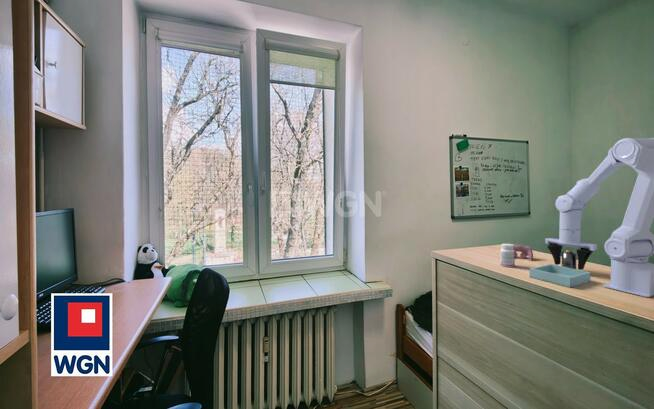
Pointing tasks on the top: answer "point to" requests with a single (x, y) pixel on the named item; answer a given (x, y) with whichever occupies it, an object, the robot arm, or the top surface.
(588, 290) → the top surface
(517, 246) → the video game controller
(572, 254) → the dark grey bottle
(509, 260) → the pill bottle
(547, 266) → the tray
